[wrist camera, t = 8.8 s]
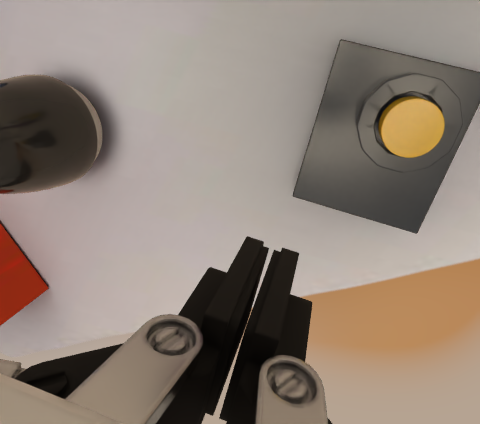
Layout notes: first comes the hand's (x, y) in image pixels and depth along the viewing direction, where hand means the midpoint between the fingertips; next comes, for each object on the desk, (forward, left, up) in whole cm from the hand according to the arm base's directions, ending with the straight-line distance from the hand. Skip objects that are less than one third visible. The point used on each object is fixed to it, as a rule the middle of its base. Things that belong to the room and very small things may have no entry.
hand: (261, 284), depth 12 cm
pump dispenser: (+13, -21, -24) cm, 34 cm away
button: (-6, +5, -20) cm, 21 cm away
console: (-3, +4, -24) cm, 25 cm away
